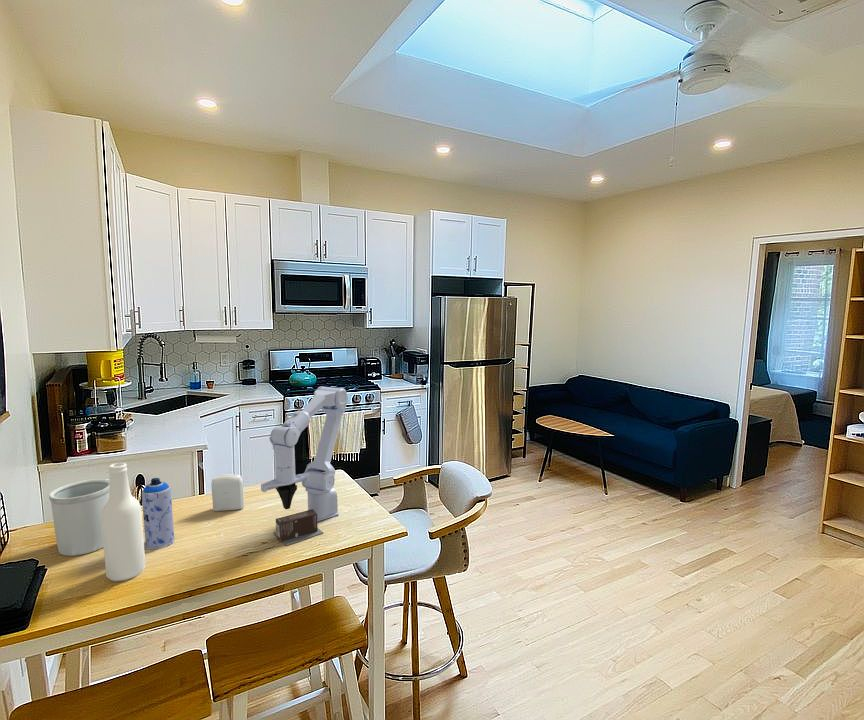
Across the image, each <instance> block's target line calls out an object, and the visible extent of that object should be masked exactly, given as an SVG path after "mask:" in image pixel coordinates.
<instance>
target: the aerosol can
mask: <svg viewBox="0 0 864 720" xmlns="http://www.w3.org/2000/svg"><path fill="white" fill-rule="evenodd" d="M172 501H173V500H172V489H171V486H170V485H169V483H167V482H165V481H162V480H161V478H159V477H153V478H151V480H150V483H148V484H147V485H146V486H145V487H144V488H143V489H142V491H141V504H142V519H143V532H144V540H145V541H144V549H145V548H146V549H147V550H160V549H164V548H166V547H168V546H170V545H172V544H173V543H174V542H175V540H176V538H175V530H174V518H173V502H172Z"/></svg>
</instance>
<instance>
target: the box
mask: <svg viewBox="0 0 864 720" xmlns="http://www.w3.org/2000/svg"><path fill="white" fill-rule="evenodd" d="M318 526H319V525H318V522H317V513H316V512H315V511H314V510H313V509H311V510H308V509H307V510H305V511H301V512H296V513H293V514H288V515H285V516H281V517H278V518H275V532H276V535H275V536H276V538H277V540H279V542H282V541H285V540H288V539H292V538H295V537H299V536H302V535H305V534H309V533H312V532H316V531H318V528H319V527H318Z"/></svg>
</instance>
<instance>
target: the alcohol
mask: <svg viewBox="0 0 864 720" xmlns="http://www.w3.org/2000/svg"><path fill="white" fill-rule="evenodd" d="M127 466H128V464H127V463H126V462H114V463H112V464H110V465H109V466H108V467H107V468H108V474H109V479H108V480H109V500H108V502H107V503H106V504H105V506H104V507H103V509H102V513H101V522H102V533H103V544H104V547H103V552H104V553H103V554H104V564H105V565H104V566H105V576H106V578H108V580H110V581H112V582H124V581H127V580H132V579H133V578H136V577H137V576H139V575H140V574H141V573H142V572H143V571H144V570H145V567H146V556H145V553H146V551H145V541H144V540H145V537H144V525H143V512H142V506H141V503H140V502H139V500H138V499H137V498H135V497H134V496H133V495H132V492H131V487H130V482H129V477H128V476H129V475H128V467H127Z"/></svg>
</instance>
